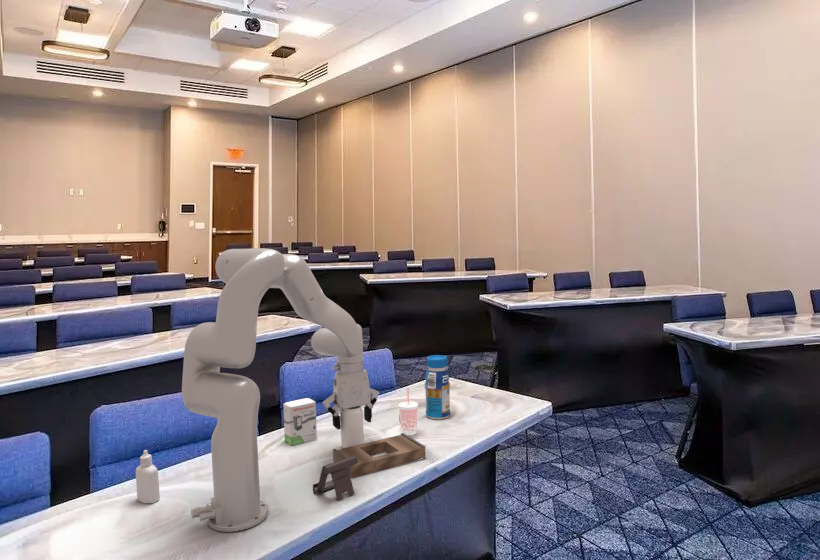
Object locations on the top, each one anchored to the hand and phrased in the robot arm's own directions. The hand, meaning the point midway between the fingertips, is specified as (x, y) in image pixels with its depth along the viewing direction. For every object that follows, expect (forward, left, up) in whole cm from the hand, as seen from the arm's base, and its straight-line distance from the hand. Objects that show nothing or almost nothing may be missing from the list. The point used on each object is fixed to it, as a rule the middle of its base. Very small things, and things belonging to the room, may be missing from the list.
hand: (352, 424), depth 159 cm
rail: (+2, -13, -6) cm, 15 cm away
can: (0, 0, -7) cm, 7 cm away
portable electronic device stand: (-15, -24, -7) cm, 29 cm away
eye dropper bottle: (-54, -3, -7) cm, 55 cm away
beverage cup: (+19, 0, -7) cm, 20 cm away
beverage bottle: (+35, +8, -7) cm, 36 cm away
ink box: (-11, +13, -7) cm, 18 cm away
